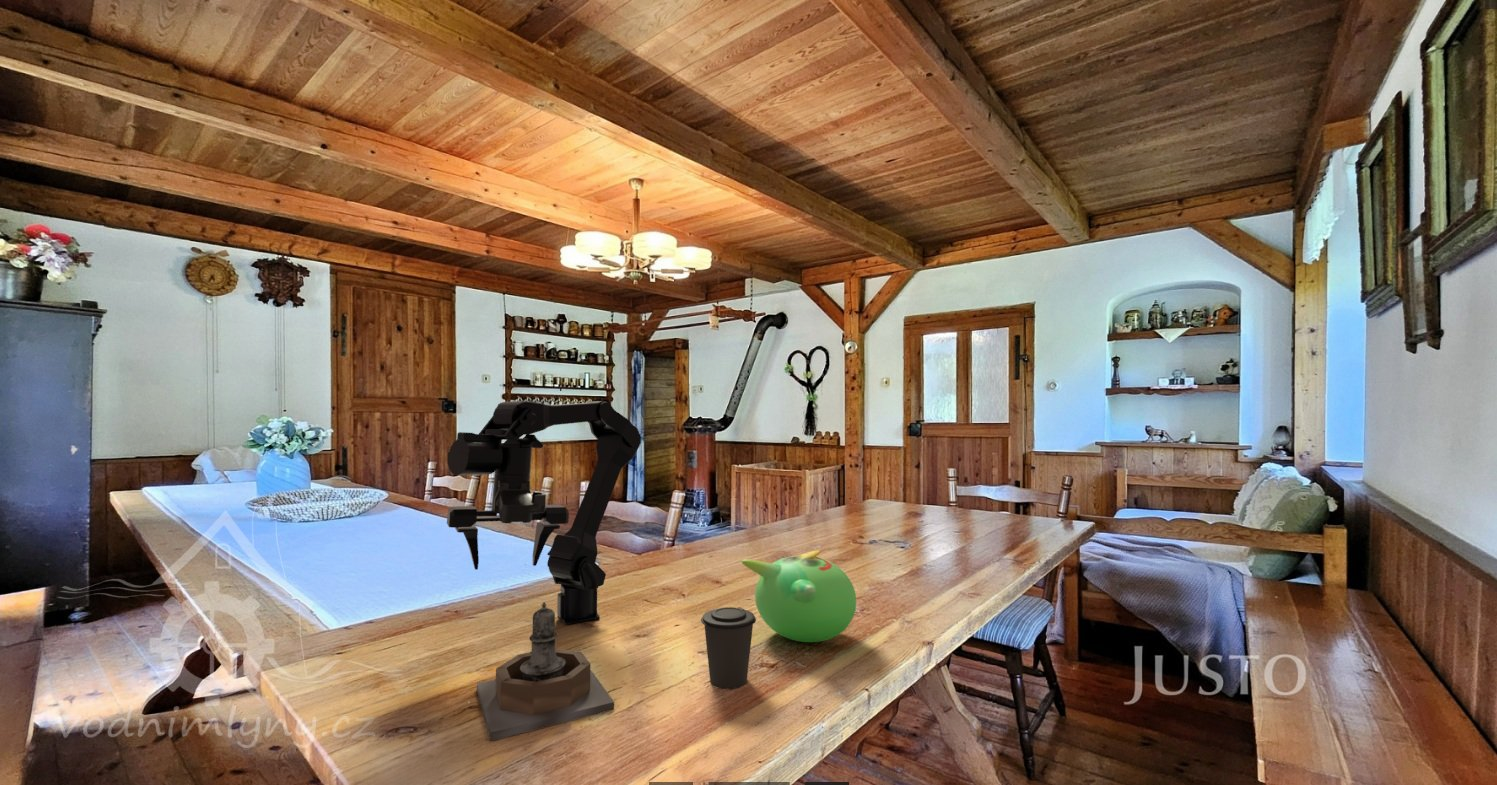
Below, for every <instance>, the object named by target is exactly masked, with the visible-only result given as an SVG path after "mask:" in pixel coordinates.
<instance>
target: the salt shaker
mask: <svg viewBox="0 0 1497 785" xmlns="http://www.w3.org/2000/svg"><path fill="white" fill-rule="evenodd" d="M546 606H547V603H546V602H545V601H544V602H542V604H541V608H540V609H537V610H536V611H535V612H534V613H533V615H532V635H530V636H529V641H531V652H532V653H531V657H530V660H528V661H526V662H524V663H523V664H522V665H521V667H520V671H521V672H522V673H523V674H522V675H523V678H524V680H525V681H533V682H538V681H542V680H547V679H552V678H556V677H561V674H562V672H563V667H564V666H565V664H566V662H565V660H564V659H563V658H561V657H557V656H556V653H555V649H556V639H557V637H558V635H559V634H558V633H557V632H555V631H556V628H555V626H556V612H555V611H554V610H553V609H551V608H548V607H546Z"/></svg>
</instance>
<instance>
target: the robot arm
mask: <svg viewBox="0 0 1497 785" xmlns="http://www.w3.org/2000/svg"><path fill="white" fill-rule="evenodd" d="M580 423H588V424H589V428H590V432H591V434H592V435H593V436H594V438H596V439H597V442H596V446H595V450H596V452H595V453H596V457H597V463H596V465H595V468H594V470H593V473H592V475H591V476H590V477H591V478H590V479H589V482H588V484H587V488H586V490H585V493H584V494H583V498H582V500H581V503H580V505H579V507H578V509H577V512H576V515H575V518H574V520H573V523H572V524H571V527H570V529H569V530H568V531H567V532H566V533H564V534H559V533H557V534H556V535H555V537H554V539H553V543H552V546H551V548H550V549H549V551H548V552H547V554H546V555H547V556H548V558H547V566H546V567H548V572H550V574H551V575H552V578H553V582H554V584H555V585H560V592H558V593H557V600H556V601H557V603H556V604H557V607H556V608H557V609H556V610H557V611H556V612H557V613H556V614H557V616H558V618H559V619H560V620H561V621H562V622H563V624H564V625H570V624H576V623H583V622H588V621H593V620H598V619H601V616H600V614H599V613H598V589H599V587H601V586H604V583H605V580H606V576H607V574H606V572H605V571H604V570H603V569H602V568H601V567H600V566H599V565H598V564H597V563H596V561H597V558H598V552H599V551H598V544H597V534H598V531H599V529H600V527H601V523H602V520H603V518H604V516H605V513H606V510H607V507H608V505H609V502H610V499H611V498H612V494H613V492H614V489H615V487H616V484H617V481H618V478H619V475H620V474H621V472H622V469H623V468H624V467H625V466H626V465H628V463H629V462H631V460H632V459H634V456H635V455H636V453H637V451H638V449H639V448H640V446H641V441H642V436H641V434H640V431H639V429H638V427H636V426H635V425H633V423H632V422H631V421H630V419H629V418H626V417H625V416H624V415H623V414H621V413H619V412H618V411H617V410H615V409H614V407H613V406H612V405H611V404H610V403H609V402H606V401H604V400H596V401H595V400H594V401H593V400H592V401H591V400H590V401H588V402H582V403H581V402H580V403H578V402H577V403H565V404H551V405H550V404H546V403H542V402H536V401H535V402H534V401H529V400H523V401H521V400H520V401H502V402H499V404H497V406H496V407H495V409H494V411H493V414H492V416H491V417H490V419H489V420H488V421H487V423H486V424H485V425H484V426H483V428H482V429H481V430H480V431H479V433H475V432H465V431H464V432H460V431H459V432H457V436H456V440H455V441H454V442H453V443H452V444H451V446H450V448H449V451H448V452H447V455H446V456H447V459H446V460H447V467H448V469H449V472H450V473H451V474H453V475H454V476H476V475H477V476H481V475H482V476H483V475H484V476H486V475H492V474H494V475H493V476H494V477H493V491H492V502H491V504H492V505H491V510H489V509H488V510H478V509H477V508H476V507H475V506H474V505H471V506H468V505H467V506H464V505H463V506H462V505H461V506H457V505H456V506H450V508H449V509H447V515H446V516H447V517H446V524H447V526H448V528H455V530H456V532H457V533H462V534H463V535H464V537H465V540H466V542H467V546H468V549H469V552H470V555H471V560H472V564H473V567H474V570H478V569H479V539H478V535H479V534H478V533H479V532H478V531H479V529H478V528H477V526H476V524H477V522H478V523H480V522H500V523H502V524H511V523H523V524H529V523H531V522H532V521H538V522H536V527H535V534H534V542H533V550H532V565H533V567H536V566H537V564H538V561H539V559H540V557H541V555H542V553H543V549H544V548H545V545H546V542H547V541H548V539H549V537H550V536H551V534H552V533H553V531H555V530H557V529H558V530H559V529H560V528H561V525H565V524H569V517H570V513H569V512H570V511H569V509H568V508H567V507H566V506H563V505H561V504H547V498H546V497H547V493H546V491H533V492H531V484H530V483H531V470H532V467H531V466H532V455H533V449H543V447H544V444H543V443H542V441H540V440H539V439H538V438H537V437H536V433H539V432H541V431H545V430H546V429H547V428H550V427H552V426H558V425H568V424H580ZM503 440H504V442H503ZM502 442H503V443H502Z"/></svg>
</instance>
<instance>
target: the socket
mask: <svg viewBox="0 0 1497 785" xmlns="http://www.w3.org/2000/svg"><path fill="white" fill-rule="evenodd" d="M531 653H532V651H531V652H526V653H525V652H524V653H521V654H517V655H516V656H514V657H512V658H511V659H509V660H507V661H505V662H504V663H503V664H501V665H499V666H497V667H496V668H495V679H490V680H484V681H480V682H477V683H476V692H477V695H478V700H479V703H480V704H479V705H480V708H481V711H482V716H483V719H484V723H485V727H486V729H487V730H486V731H487V733H488V738H489V741H490V742H493V741H497V740H501V739H505V738H508V737H513V736H516V735H521V734H524V733H527V732H529V733H530V732H532V731H537V730H540V729H543V728H548V727H551V726H555V725H560V724H564V723H568V722H572V721H575V720H579V719H583V718H587V717H590V716H595V715H598V714H599V715H600V714H603V713H607V712H610V711H615V700H614V699H613V698H612V697H611V695H610V694H609V693H608V691H607V690H606V689H605V687H604V686H603V684H602V683H601V682H600V680H599V679H598V677H596V674H595V673H594V672H593V670H591V662H590V661H589V659H588V658H587V657H586V656H585V654H584V653H583V652H582V651H581V650H579V651H578V650H571V649H570V650H569V649H563V648H555V653H556V656H557V657H561V658H563V659H564V660H565V662H566V664H565V666H564V667H563V672H562V674H561V677H556V678H552V679H547V680H542V681H538V682H533V681H525V680H524V678H523V675H522V674H523V673H522V672H521V671H520V667H521V665H522V664H523V663H524V662H526V661H528V660H530V657H531Z"/></svg>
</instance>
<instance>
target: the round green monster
mask: <svg viewBox="0 0 1497 785" xmlns="http://www.w3.org/2000/svg"><path fill="white" fill-rule="evenodd" d="M821 552H822V551H821V550H818V549H817V550H812V551H811V550H810V551H808V552H805V553H801V554H798V555H791V556H786V557H782V558H780V559H777V560H776V561H774V562H772V563H771V562H766V561H760V560H756V559H755V560H754V559H749V558H747V559H746V558H745V559H742V560H741V564H742V565H743V566H745V567H747V568H748V569H749V570H751V571H753V572H754V573H756V574H757V575H758V576H759V578H758V580H757V582H756V586H755V590H754V591H755V592H754V597H755V598H754V599H755V600H754V601H755V605H756V608H757V611H758V614H759V615H760V616H761V619H762V620H763V621H764V623H765V624H766V625H767V626H768V627H769V628H771V630H773V631H774V632H775V633H777V634H779V635H781V637H784V638H787V639H789V640H792V641H796V642H801V643H819V642H825V641H828V640H831V639H834V638H835V637H837V636H839V635H840V634H842V633H843V632H844V631H845V630H846V629H847V628H848V627H849V625H850V624H851V622H852V621H853V618H854V616H855V613H856V609H857V594H856V590H855V587H854V585H853V583H852V580H851V579H850V578H849V576H848V575H847V574H846V573H845V572H844V570H842V569H841V568H840V567H839V566H837V565H836V564H835V563H833V562H831V561H829V560H827V559H825V558H821V557H818V555H819V554H821Z"/></svg>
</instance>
